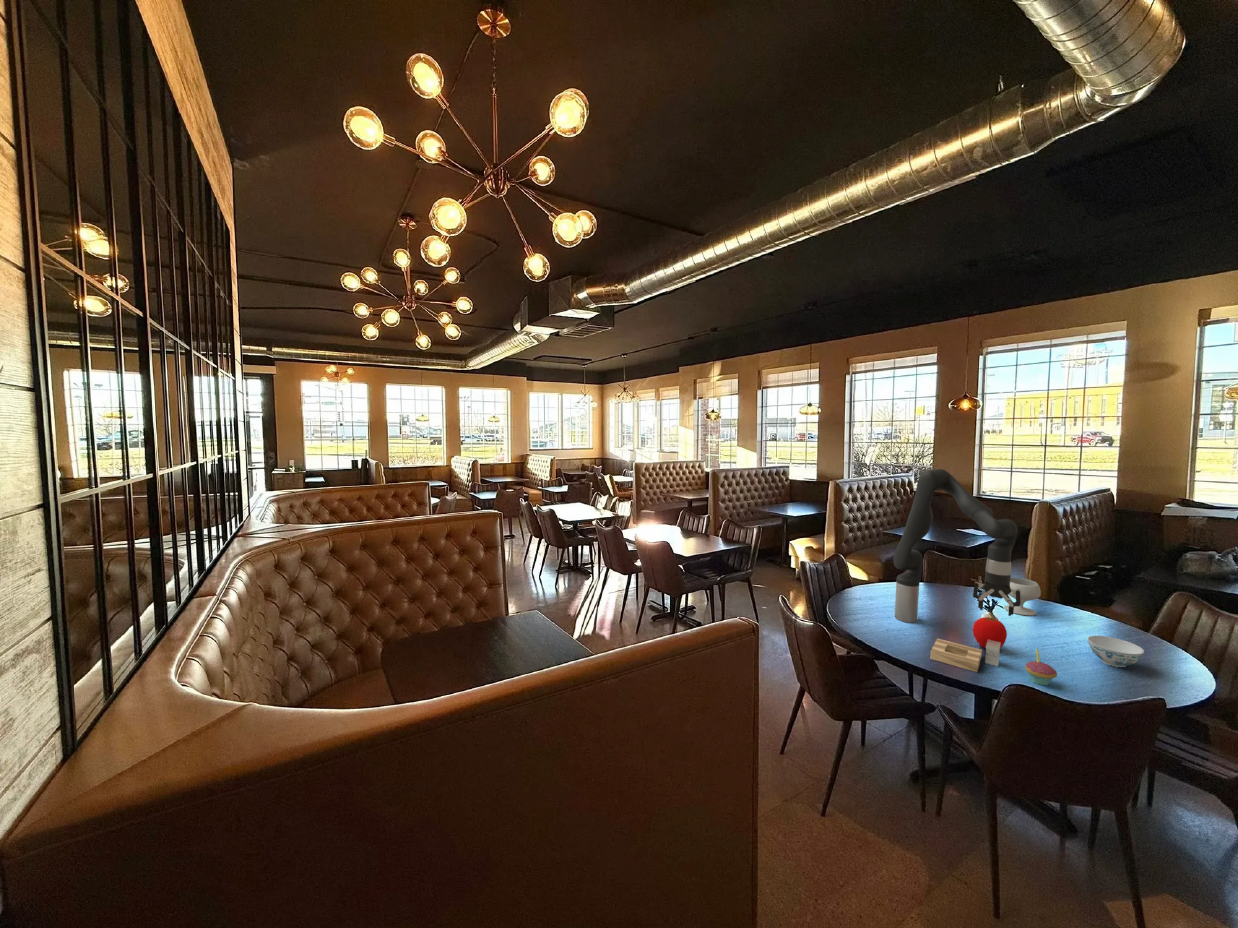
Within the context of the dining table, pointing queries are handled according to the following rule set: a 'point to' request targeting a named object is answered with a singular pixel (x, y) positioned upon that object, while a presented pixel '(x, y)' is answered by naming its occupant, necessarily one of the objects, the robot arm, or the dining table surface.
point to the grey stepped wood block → (992, 652)
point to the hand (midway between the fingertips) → (995, 612)
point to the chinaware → (1115, 650)
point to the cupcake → (1040, 671)
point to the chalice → (1024, 594)
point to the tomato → (989, 631)
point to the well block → (956, 654)
